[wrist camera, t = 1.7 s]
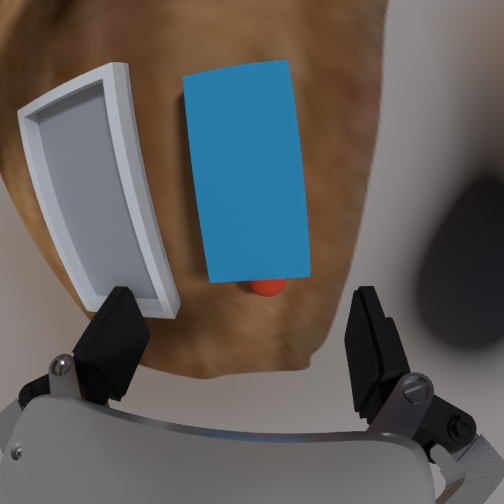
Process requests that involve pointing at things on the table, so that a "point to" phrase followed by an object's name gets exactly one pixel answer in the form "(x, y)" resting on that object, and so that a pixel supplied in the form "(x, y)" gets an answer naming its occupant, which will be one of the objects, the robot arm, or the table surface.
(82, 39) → the table surface
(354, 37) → the table surface
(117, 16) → the table surface
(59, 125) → the tray
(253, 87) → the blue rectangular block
